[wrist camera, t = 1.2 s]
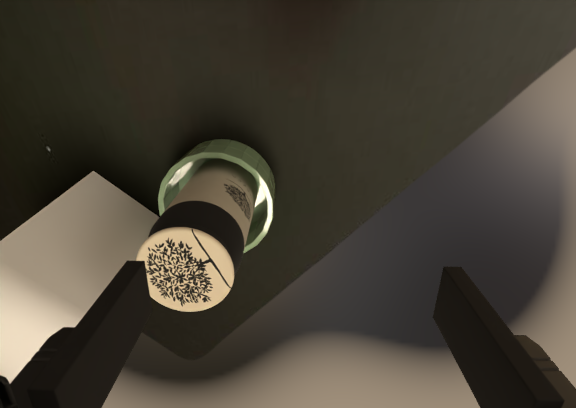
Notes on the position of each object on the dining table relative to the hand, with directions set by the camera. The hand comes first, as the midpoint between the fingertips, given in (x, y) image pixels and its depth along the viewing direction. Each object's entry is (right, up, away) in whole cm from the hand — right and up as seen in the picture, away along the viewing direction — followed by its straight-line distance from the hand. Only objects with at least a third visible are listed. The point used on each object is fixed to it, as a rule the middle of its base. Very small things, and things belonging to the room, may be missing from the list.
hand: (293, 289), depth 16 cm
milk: (-23, 0, +31) cm, 39 cm away
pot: (-8, +6, +28) cm, 30 cm away
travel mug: (-8, +6, +28) cm, 30 cm away
